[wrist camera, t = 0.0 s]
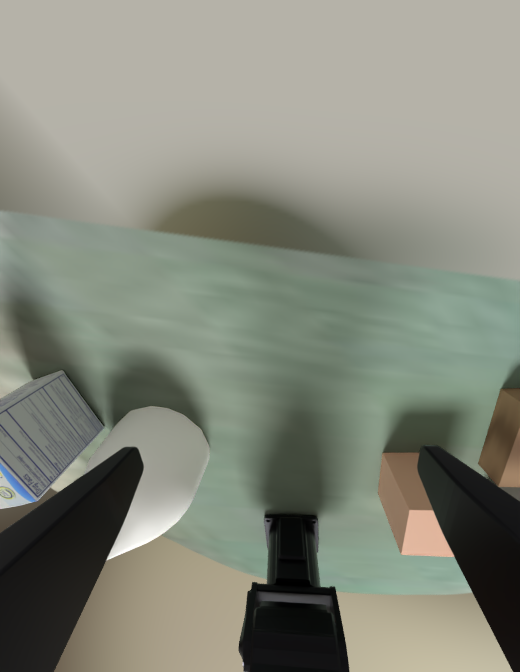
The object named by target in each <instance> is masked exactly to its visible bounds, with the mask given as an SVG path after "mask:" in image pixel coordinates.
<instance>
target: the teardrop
mask: <svg viewBox="0 0 520 672" xmlns="http://www.w3.org/2000/svg"><path fill="white" fill-rule="evenodd" d="M123 447H137V448H138V449H139V452H140V455H141V458H142V461H143V464H144V470H143V474H142V476H141V479H140V482H139V484H138V487H137V490H136V492H135V495H134V498H133V500H132V503H131V506H130V508H129V511H128V514H127V516H126V519H125V521H124V524H123V526H122V528H121V530H120V532H119V535H118V537H117V539H116V541H115V543H114V545H113V547H112V549H111V551H110V554H109V556H108V558H107V560H108V559H111V558H113V557H115V556H117V555H120V554H122V553H124V552H127V551H129V550H131V549H134V548H136V547H139V546H141V545H143V544H145V543H148V542H150V541H151V540H153V539H155V538H156V537H158V536H160V535H161V534H163V533H164V532H166V531H167V530H168V529H169V528H170V527H172V526H173V525H174V524H175V523H176V522H178V521H179V519H180V518H181V517H182V516H183V514H184V513H185V512H186V510H187V509H188V508H189V506H190V504H191V502H192V501H193V499H194V496H195V494H196V491H197V489H198V486H199V484H200V481H201V479H202V476H203V474H204V471H205V468H206V466H207V463H208V461H209V452H210V447H209V445H208V443H207V440H206V438H205V436H204V434H203V432H202V430H201V429H200V428H199V427H198V426H197V425H195V424H194V423H193V422H192V421H191V420H189V419H188V418H187V417H186V416H185V415H183V414H181V413H178V412H176V411H174V410H171V409H169V408H163V407H155V406H149V407H144V408H140V409H135V410H131V411H130V412H129V413H127V414H126V415H125V416H124V417H123V418H122V419H121V420H120V421H119V422H118V423H117V424H116V426H115V427H114V428H113V429H112V431H111V432H110V433H109V435H108V436H107V437H106V438H105V440H104V441H103V442H102V444H101V445H100V446H99V448H98V449H97V450H96V451H95V453H94V454H93V455H92V457H91V458H90V459H89V462H88V464H87V467H86V469H85V472H84V474H86V473H87V472H89V471H90V470H92V469H93V468H94V467H96V466H97V465H99V464H100V463H102V462H103V461H104V460H106V459H107V458H109V457H110V456H112V455H113V454H115V453H116V452H117V451H119V450H120V449H122V448H123ZM107 560H106V561H107Z"/></svg>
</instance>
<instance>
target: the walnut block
mask: <svg viewBox="0 0 520 672" xmlns="http://www.w3.org/2000/svg"><path fill="white" fill-rule="evenodd" d="M478 464H479V465H480V466H481V467H482V469H483V470H484V471H485V472H486V473H487V474H488V476H489V477H490V478H491V479H492V480H493V481H494V482H495V484H496V485H497V486H498V487H520V388H509V389H501V390H500V393H499V396H498V400H497V403H496V406H495V410H494V413H493V416H492V420H491V423H490V426H489V429H488V433H487V436H486V439H485V443H484V446H483V449H482V452H481V456H480V459H479V462H478Z"/></svg>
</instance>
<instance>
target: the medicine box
mask: <svg viewBox="0 0 520 672" xmlns="http://www.w3.org/2000/svg"><path fill="white" fill-rule="evenodd" d="M103 429H104V426H103V425H102V424H101V422H100V421H99V420H98V418H97V417H96V415H95V414H94V413H93V411H92V410H91V409H90V407H89V406H88V404H87V403H86V402H85V400H84V399H83V398H82V396H81V395H80V394H79V392H78V391H77V389H76V388H75V387H74V385H73V384H72V383H71V381H70V380H69V378H68V377H67V376H66V374H65V373H64V371H63V370H61V371H58V372H55V373H52V374H49V375H47V376H44V377H41V378H38V379H35V380H32V381H30V382H28V383H27V384H25V385H23V386H21V387H20V388H18V389H16V390H15V391H13V392H11V393H10V394H8V395H6V396H5V397H3V398H1V399H0V509H2V508H8V507H14V506H19V505H24V504H27V503H31V502H35V501H38V500H39V499H40V498H41V497H42V495H44V494H45V492H46V491H47V490H48V489H49V488H50V487H51V486H52V485H53V484H54V483H55V481H56V480H57V479H58V478H59V477H60V476H61V475H62V474H63V473H64V472H65V471H66V469H67V468H68V467H69V466H70V465H71V464H72V463H73V462H74V461H75V460H76V459H77V458H78V456H79V455H80V454H81V453H82V452H83V451H84V450H85V449H86V448H87V447H88V446H89V444H90V443H91V442H92V441H93V440H94V439H95V438H96V437H97V436H98V435H99V434H100V433H101V432H102V431H103Z"/></svg>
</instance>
